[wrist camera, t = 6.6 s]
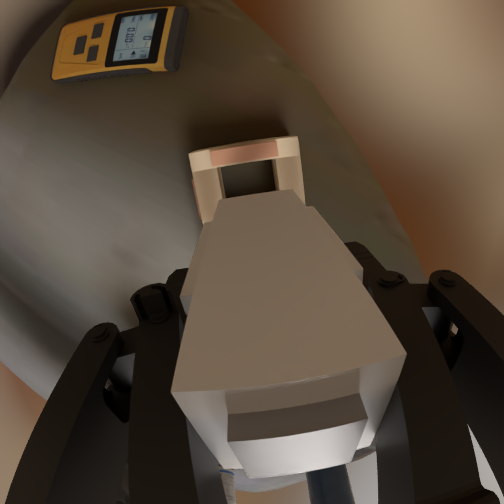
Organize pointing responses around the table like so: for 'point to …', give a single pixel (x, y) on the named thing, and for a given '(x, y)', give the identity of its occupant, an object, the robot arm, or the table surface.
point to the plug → (282, 343)
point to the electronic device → (120, 44)
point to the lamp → (330, 486)
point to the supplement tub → (228, 484)
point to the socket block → (211, 159)
